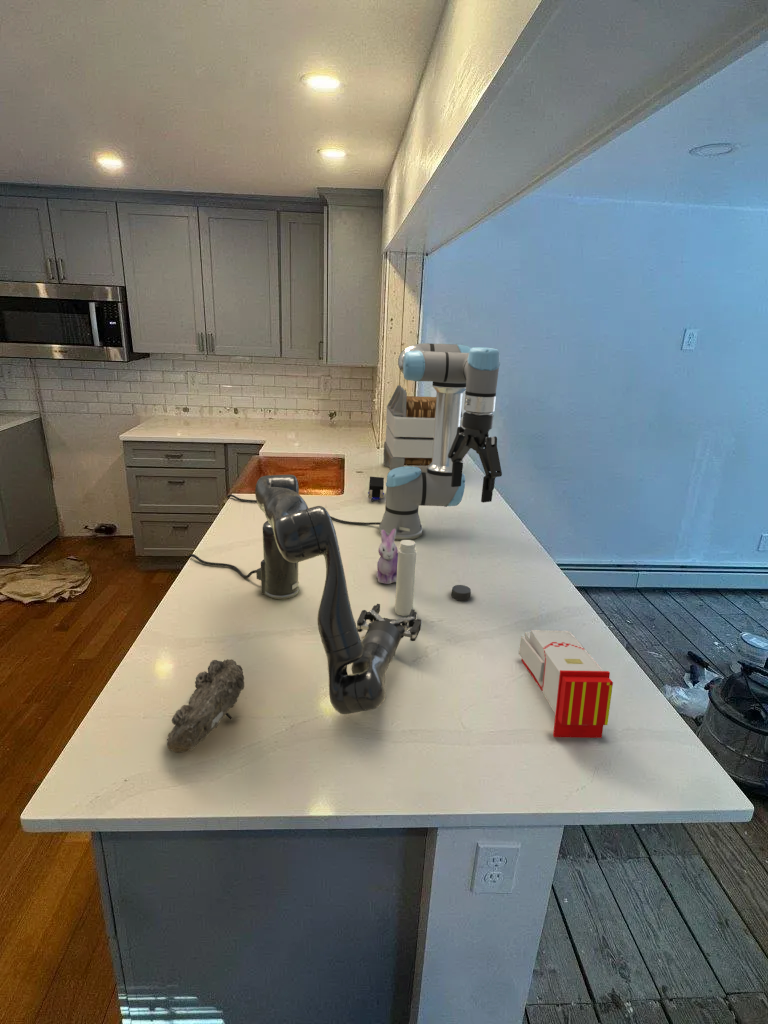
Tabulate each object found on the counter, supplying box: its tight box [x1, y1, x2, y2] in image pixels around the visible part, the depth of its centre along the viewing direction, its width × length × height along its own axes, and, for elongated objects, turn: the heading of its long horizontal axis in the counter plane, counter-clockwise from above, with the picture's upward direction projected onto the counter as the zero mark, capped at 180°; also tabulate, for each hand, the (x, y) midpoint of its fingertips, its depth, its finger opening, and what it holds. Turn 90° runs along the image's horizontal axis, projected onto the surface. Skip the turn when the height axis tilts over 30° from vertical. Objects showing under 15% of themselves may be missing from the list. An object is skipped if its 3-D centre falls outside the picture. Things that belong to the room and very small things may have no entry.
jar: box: [394, 539, 417, 617], centre depth 146 cm, size 5×5×20 cm
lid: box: [450, 584, 472, 602], centre depth 158 cm, size 5×5×2 cm
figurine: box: [375, 529, 399, 585], centre depth 164 cm, size 9×10×15 cm
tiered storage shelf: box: [383, 384, 463, 471], centre depth 268 cm, size 34×33×41 cm
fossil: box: [166, 658, 245, 754], centre depth 106 cm, size 22×10×15 cm
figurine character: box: [367, 476, 385, 503], centre depth 235 cm, size 7×8×15 cm
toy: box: [518, 629, 614, 739], centre depth 118 cm, size 12×13×30 cm
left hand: (395, 609), depth 137 cm, fingers open, 8 cm apart
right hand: (470, 493), depth 148 cm, fingers open, 13 cm apart
